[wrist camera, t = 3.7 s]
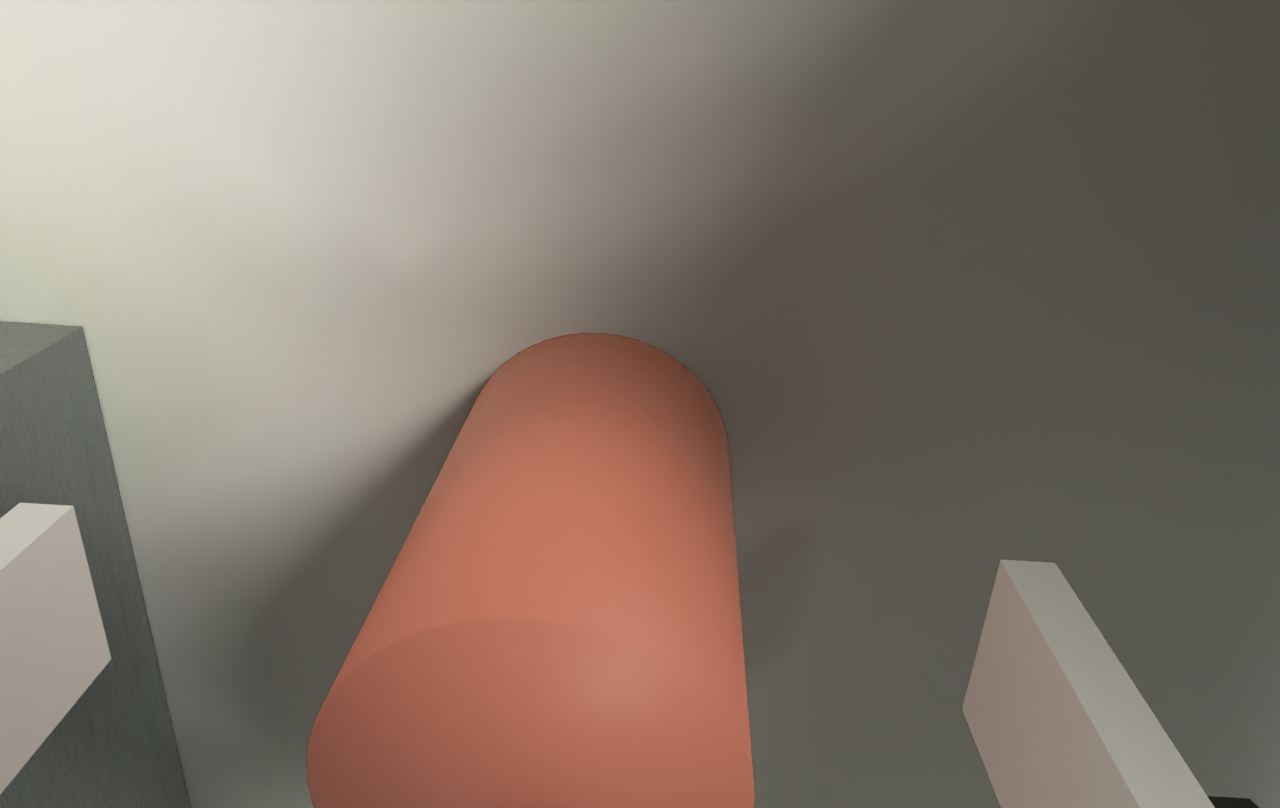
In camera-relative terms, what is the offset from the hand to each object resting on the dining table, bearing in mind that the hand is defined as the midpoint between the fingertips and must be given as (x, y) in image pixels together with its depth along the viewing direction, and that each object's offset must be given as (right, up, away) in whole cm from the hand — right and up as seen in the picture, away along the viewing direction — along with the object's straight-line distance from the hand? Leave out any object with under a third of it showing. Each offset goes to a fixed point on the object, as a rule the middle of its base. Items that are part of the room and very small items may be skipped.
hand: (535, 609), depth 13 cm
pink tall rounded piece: (+1, +2, +4) cm, 5 cm away
